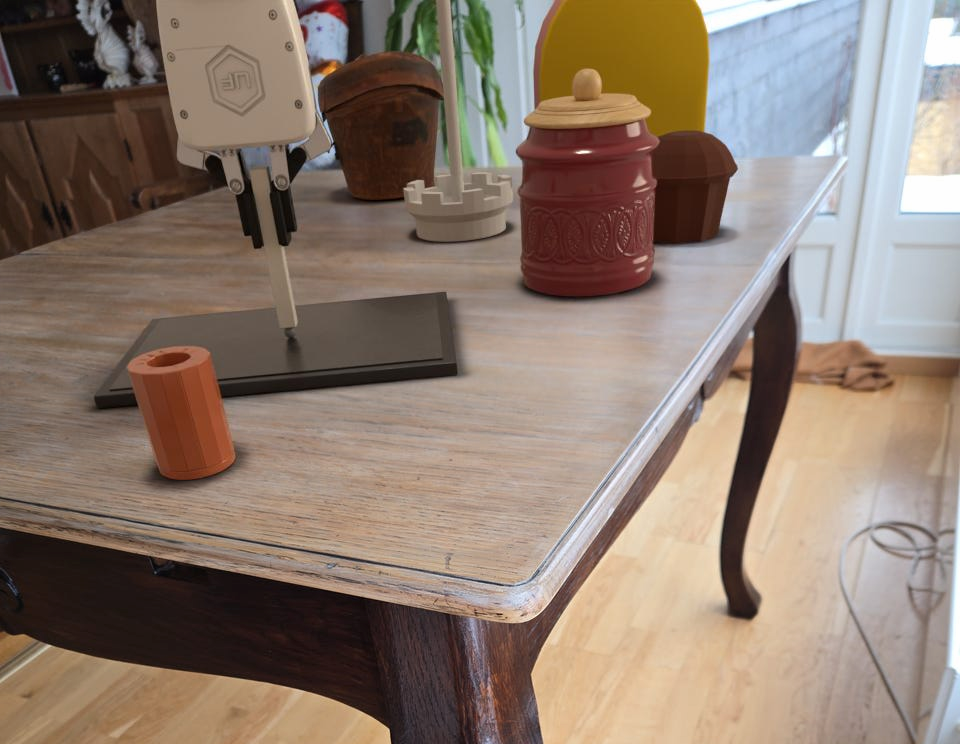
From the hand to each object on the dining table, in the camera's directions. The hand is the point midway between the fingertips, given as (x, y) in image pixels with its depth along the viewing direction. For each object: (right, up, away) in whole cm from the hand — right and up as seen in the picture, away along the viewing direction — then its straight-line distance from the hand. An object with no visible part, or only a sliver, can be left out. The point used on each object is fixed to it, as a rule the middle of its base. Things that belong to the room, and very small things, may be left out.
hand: (273, 242), depth 72 cm
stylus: (+1, -6, +4) cm, 8 cm away
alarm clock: (+35, +29, +49) cm, 67 cm away
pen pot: (-2, -20, -13) cm, 24 cm away
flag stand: (+14, +18, +38) cm, 44 cm away
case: (+3, +35, +62) cm, 71 cm away
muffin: (+39, +13, +28) cm, 50 cm away
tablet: (0, -7, +5) cm, 9 cm away
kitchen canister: (+27, +3, +16) cm, 32 cm away
